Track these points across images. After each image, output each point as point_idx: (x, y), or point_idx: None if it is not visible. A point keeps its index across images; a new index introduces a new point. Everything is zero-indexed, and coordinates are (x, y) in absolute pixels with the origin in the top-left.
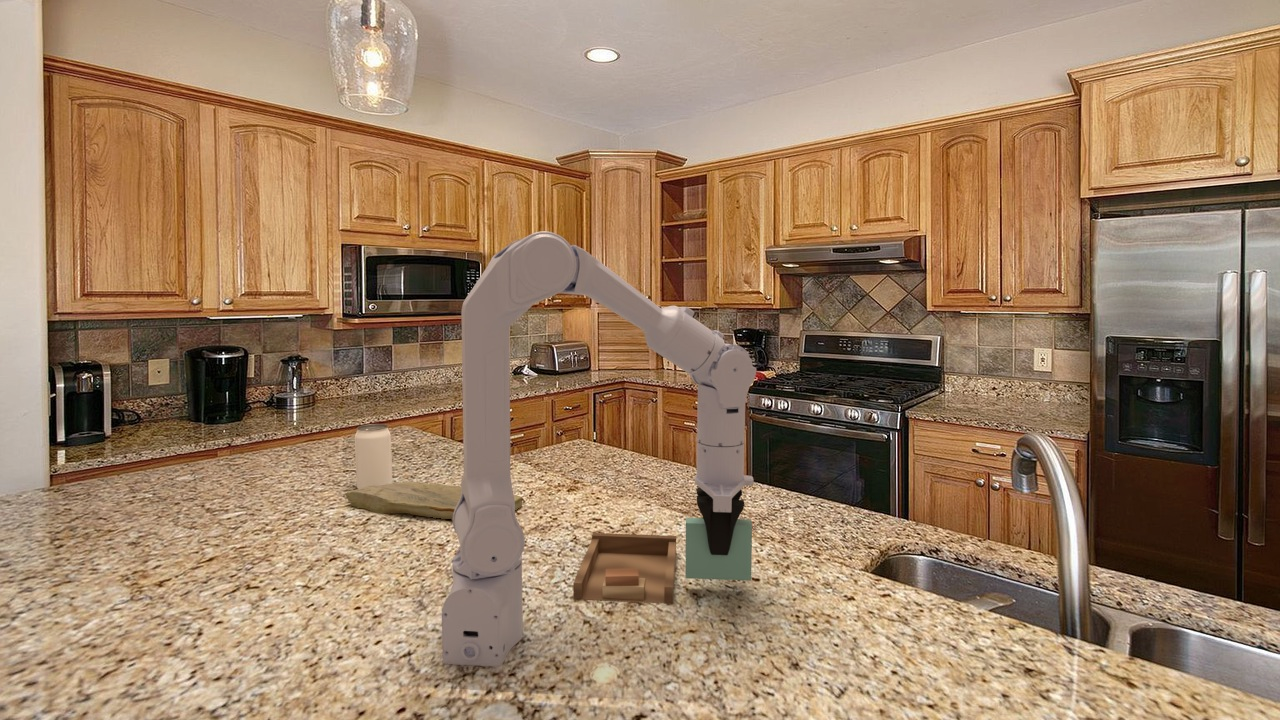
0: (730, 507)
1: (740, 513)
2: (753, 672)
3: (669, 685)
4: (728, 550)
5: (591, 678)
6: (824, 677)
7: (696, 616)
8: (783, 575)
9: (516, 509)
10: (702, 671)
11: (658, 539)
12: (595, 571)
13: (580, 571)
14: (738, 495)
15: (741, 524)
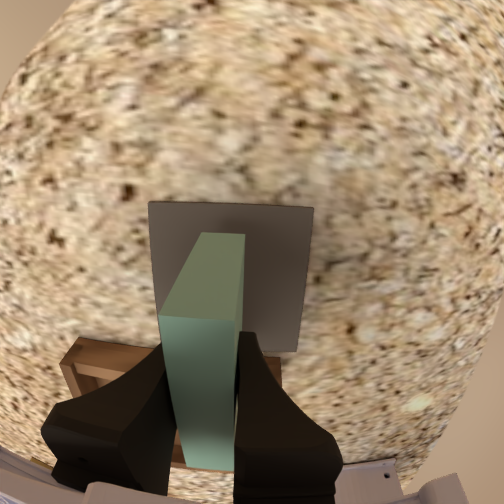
0: (460, 487)
1: (317, 425)
2: (463, 247)
3: (458, 345)
4: (256, 339)
5: (423, 410)
6: (481, 145)
7: (303, 323)
8: (103, 128)
9: (42, 463)
10: (447, 313)
11: (81, 389)
12: (179, 442)
13: (230, 472)
14: (129, 438)
15: (231, 358)
